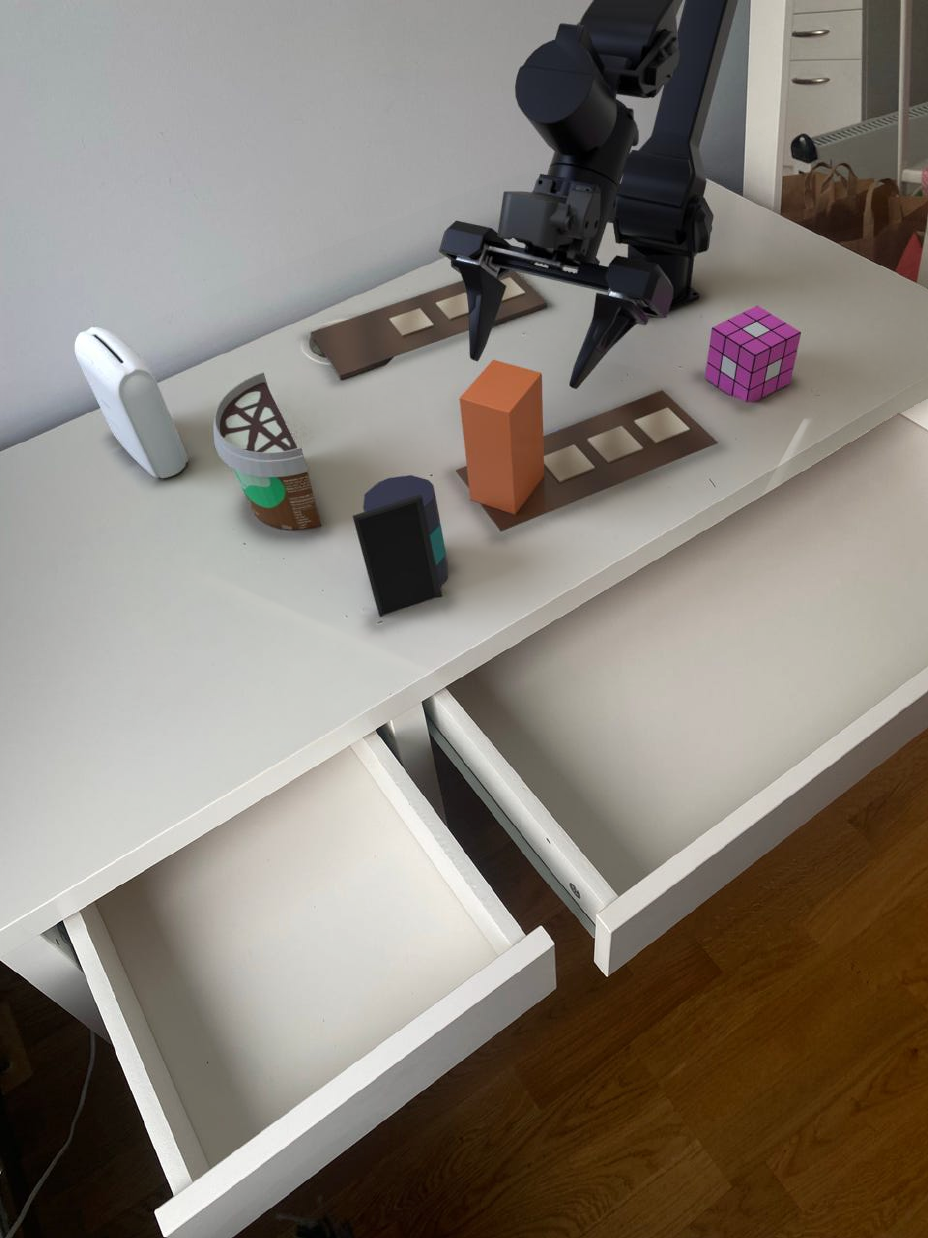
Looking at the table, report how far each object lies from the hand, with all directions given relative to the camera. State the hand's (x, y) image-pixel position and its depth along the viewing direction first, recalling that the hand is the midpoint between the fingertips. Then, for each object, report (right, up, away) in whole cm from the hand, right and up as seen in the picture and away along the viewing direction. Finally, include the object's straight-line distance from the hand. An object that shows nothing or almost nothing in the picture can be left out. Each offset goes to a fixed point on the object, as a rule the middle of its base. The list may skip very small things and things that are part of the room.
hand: (522, 373), depth 77 cm
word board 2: (+6, -6, +8) cm, 12 cm away
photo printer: (-35, -4, +14) cm, 38 cm away
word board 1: (-9, +12, +24) cm, 28 cm away
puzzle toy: (+22, +3, +13) cm, 26 cm away
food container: (-22, -10, +8) cm, 25 cm away
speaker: (-10, -17, +1) cm, 20 cm away
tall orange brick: (-1, -9, +6) cm, 10 cm away
